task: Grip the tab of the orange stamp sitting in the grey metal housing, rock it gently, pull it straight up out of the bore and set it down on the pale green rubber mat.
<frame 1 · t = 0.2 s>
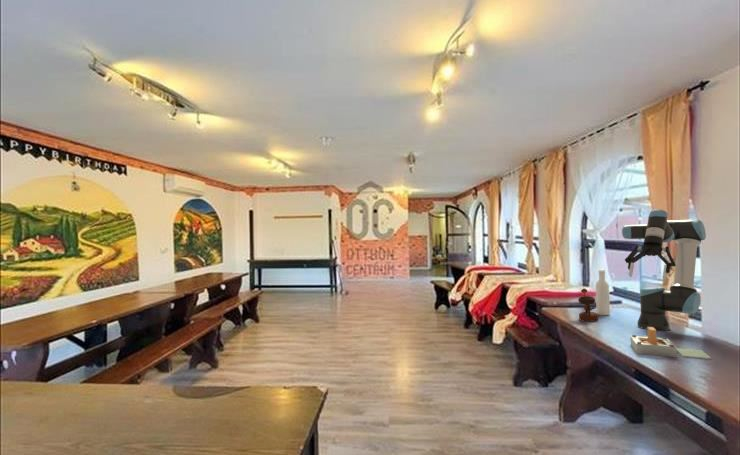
hand: (646, 277, 187), 34 cm above the table, tool tilted 30°, fingers open, 13 cm apart
housing: (652, 350, 185), on the table
brown wooden tiered piece: (588, 320, 248), on the table
orange stamp: (652, 350, 185), resting in housing
bottle: (603, 314, 262), on the table
mat: (692, 354, 178), on the table
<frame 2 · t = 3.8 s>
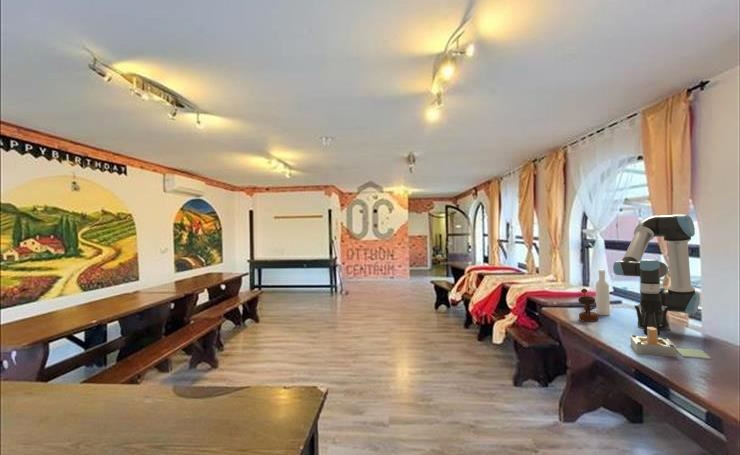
hand: (652, 342, 185), 4 cm above the table, tool pointing down, fingers closed on orange stamp, 2 cm apart
orange stamp: (652, 350, 185), resting in housing, touching gripper
everything else where it was.
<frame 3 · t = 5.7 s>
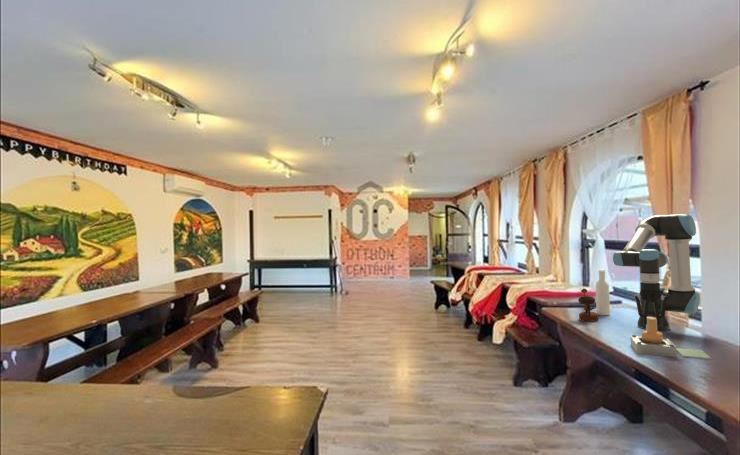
hand: (651, 331, 185), 9 cm above the table, tool pointing down, fingers closed on orange stamp, 2 cm apart
orange stamp: (652, 340, 185), point 5 cm above the table, touching gripper
everything else where it was.
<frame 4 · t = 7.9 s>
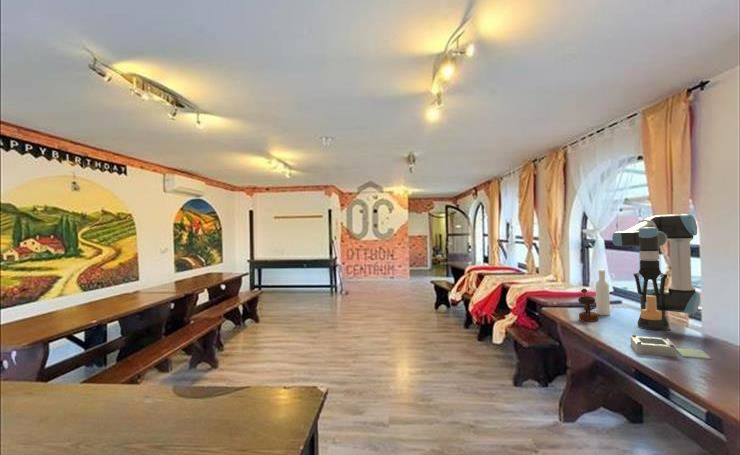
hand: (651, 309, 185), 19 cm above the table, tool pointing down, fingers closed on orange stamp, 2 cm apart
orange stamp: (651, 318, 185), point 15 cm above the table, touching gripper
everything else where it was.
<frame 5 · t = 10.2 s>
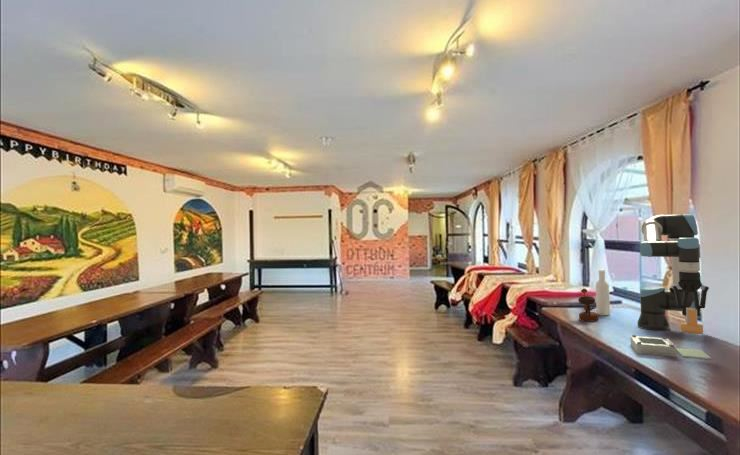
hand: (691, 322, 178), 14 cm above the table, tool pointing down, fingers closed on orange stamp, 2 cm apart
orange stamp: (691, 331, 178), point 10 cm above the table, touching gripper
everything else where it was.
when the fingers open (6 cm above the table, at t = 12.1 s): orange stamp drops 2 cm, resting on mat.
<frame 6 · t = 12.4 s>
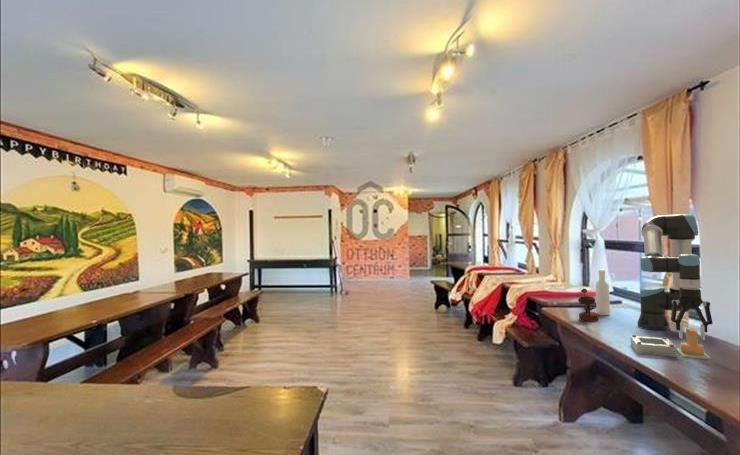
hand: (691, 338, 178), 7 cm above the table, tool pointing down, fingers open, 7 cm apart
orange stamp: (692, 352, 178), point 1 cm above the table, touching mat
everything else where it was.
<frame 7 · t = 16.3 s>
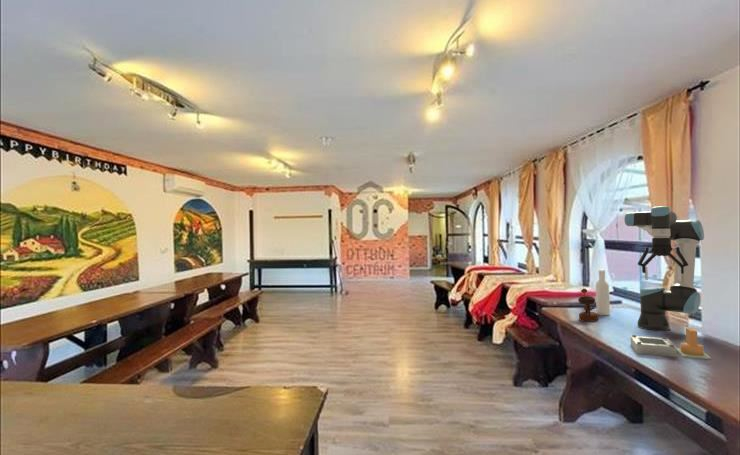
hand: (662, 280, 195), 32 cm above the table, tool pointing down, fingers open, 13 cm apart
nothing on the table moved.
at the end: orange stamp inside the target area on the mat (0.0 cm from its centre), point 0.6 cm above the mat's base; orange stamp tilted 1°; the gripper is holding nothing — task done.
